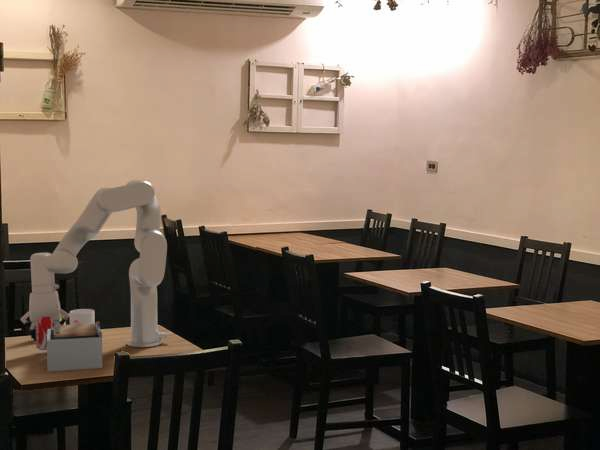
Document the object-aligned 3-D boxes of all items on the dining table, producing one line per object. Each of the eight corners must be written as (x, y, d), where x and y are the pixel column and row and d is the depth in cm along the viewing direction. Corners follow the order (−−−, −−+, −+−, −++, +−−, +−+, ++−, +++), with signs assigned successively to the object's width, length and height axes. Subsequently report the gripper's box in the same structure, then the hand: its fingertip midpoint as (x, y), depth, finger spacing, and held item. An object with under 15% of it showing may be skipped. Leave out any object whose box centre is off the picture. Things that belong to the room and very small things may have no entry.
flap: (94, 325, 272) (94, 322, 272) (96, 335, 257) (96, 331, 257) (54, 327, 268) (54, 324, 268) (54, 337, 254) (54, 333, 254)
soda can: (51, 351, 272) (49, 316, 271) (32, 350, 273) (30, 316, 272) (61, 346, 279) (59, 312, 277) (42, 345, 280) (40, 312, 279)
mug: (98, 338, 299) (98, 309, 299) (88, 344, 291) (88, 314, 290) (69, 337, 302) (68, 308, 301) (57, 342, 293) (57, 312, 292)
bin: (99, 354, 275) (99, 321, 274) (102, 367, 257) (102, 332, 257) (48, 358, 270) (47, 324, 269) (47, 371, 253) (46, 335, 252)
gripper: (69, 285, 280) (72, 334, 282) (17, 288, 275) (20, 339, 277) (69, 288, 273) (72, 339, 274) (16, 292, 268) (19, 344, 269)
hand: (46, 339), depth 276 cm, fingers closed on soda can, 7 cm apart
